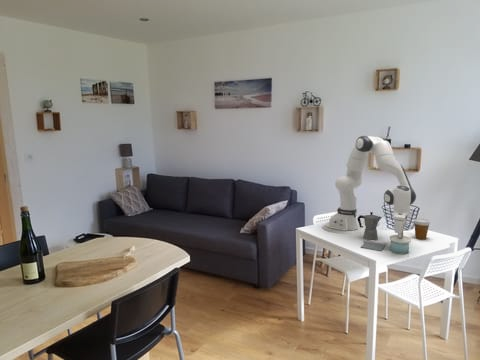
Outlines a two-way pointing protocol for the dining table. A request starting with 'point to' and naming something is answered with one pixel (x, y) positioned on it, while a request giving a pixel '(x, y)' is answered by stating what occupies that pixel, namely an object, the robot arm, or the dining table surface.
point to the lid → (400, 239)
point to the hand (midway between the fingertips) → (400, 236)
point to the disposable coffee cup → (421, 228)
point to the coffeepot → (370, 226)
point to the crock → (399, 247)
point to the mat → (373, 246)
